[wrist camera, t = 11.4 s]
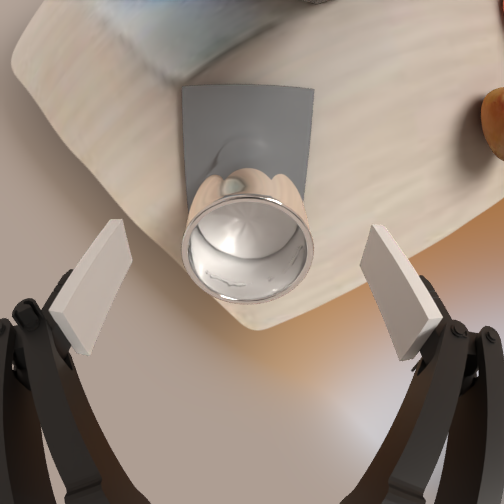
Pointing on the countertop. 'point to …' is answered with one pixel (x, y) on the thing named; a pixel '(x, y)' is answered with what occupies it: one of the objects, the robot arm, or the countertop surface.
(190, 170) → the slate board
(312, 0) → the coffeepot
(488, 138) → the onion
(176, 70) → the countertop surface
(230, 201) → the beer glass
